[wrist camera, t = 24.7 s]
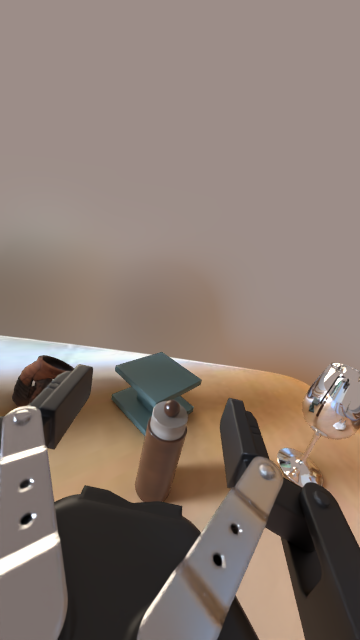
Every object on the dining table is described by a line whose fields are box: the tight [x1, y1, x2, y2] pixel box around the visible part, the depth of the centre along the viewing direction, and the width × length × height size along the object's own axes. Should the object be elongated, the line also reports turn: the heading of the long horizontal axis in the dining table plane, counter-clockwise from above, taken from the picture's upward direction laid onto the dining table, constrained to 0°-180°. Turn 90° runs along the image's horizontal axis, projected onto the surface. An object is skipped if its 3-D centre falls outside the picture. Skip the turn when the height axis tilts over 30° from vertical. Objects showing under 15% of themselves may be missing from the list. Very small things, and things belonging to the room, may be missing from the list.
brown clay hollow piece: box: [12, 355, 74, 407], centre depth 42 cm, size 12×10×8 cm
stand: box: [111, 352, 202, 436], centre depth 45 cm, size 12×12×8 cm
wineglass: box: [277, 363, 360, 487], centre depth 37 cm, size 8×8×20 cm
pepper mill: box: [135, 400, 188, 502], centre depth 30 cm, size 5×5×15 cm
